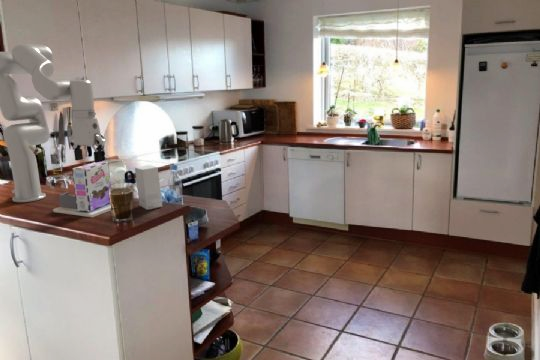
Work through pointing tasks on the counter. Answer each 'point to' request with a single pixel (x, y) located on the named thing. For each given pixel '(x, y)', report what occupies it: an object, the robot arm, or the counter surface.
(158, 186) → the skincare box
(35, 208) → the counter surface
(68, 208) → the grey block on board
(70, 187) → the die plunger
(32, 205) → the counter surface
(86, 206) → the candy box
